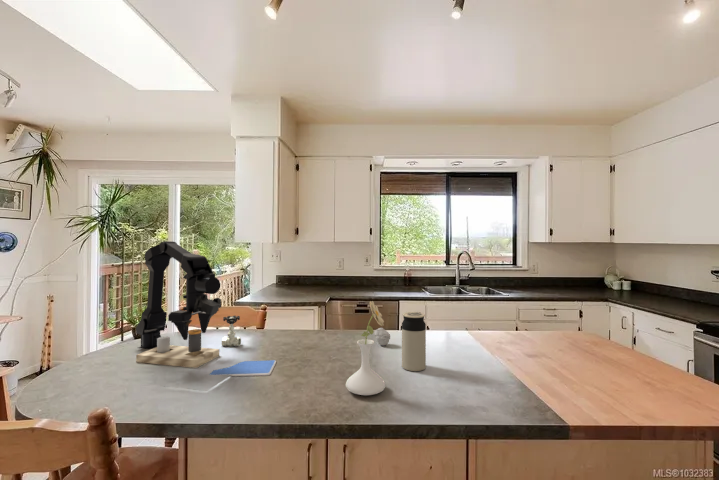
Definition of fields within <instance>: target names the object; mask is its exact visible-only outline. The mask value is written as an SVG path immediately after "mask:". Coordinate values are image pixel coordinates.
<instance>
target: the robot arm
mask: <svg viewBox="0 0 719 480" xmlns="http://www.w3.org/2000/svg"><path fill="white" fill-rule="evenodd" d="M171 259H174V260H175V261H177V262H179V264H180V269H182V270H183V271H184V272H185V275H183V279H185V281H186V283H185V285H186V286H185V289H186V290H185V294H184V295H183V294H182V295H183V299H185V306H183V307H182V308H183V310H182V309H181V310H180V309H179V310H178V309H177V310H174V311H170V312H169V314H168V317H167V311H165V310H164V308H163V307H162V304H163V303H162V302H163V291H164V290H163V289H164V277H165V271H166V270H167V268H168V267H169V266H170V262H171ZM144 261H145V263H144V264H145V266H146V267H147V269H148V271H149V275H148V276H149V277H148V290H147V304H146V308H145V309H144V310H143V311H142V312H141V318H140V320H139V322H138V324H137V325H136V327H135V332H136V334H137V335H140V346H139V347H137V349H144V350H145V349H146V350H151V349H154V348H156V347H157V338H160V337H162V335H161V332H163V331H165V329H166V324H167V321H169V322H171V323H172V324H173V325H175V327H176V329H177V331H178V332H179V334H180V336H181V338H182V339H183V340H184V341H187V340H188V339H189V334H188V331H189V326H190V324H191V323H192V321H193V320H192V317H193V316H194V315H198V321H199V325H200V329H201V334H205V333H206V332H207V329H208V327H209V326H208V325H209V323H210V321H211V318H212V317H214V316H215V315H216V314H217V313H218V312H219V311H220V309H221V308H222V299H221V298H219V297H215V298H213V299H209V296H208V295H215V294H217V293H218V292H219V291H220V289H221V286H222V285H221V281H220V280H219V279H218V278H217V277H216V274H215V273H213V269H212V267H211V265H210V264H209V261H208V259H207V257H206V256H204V255H201V254H196V253H192V252H190V251H188V250H187V249H185V248H184V247H182V246H181V245H179V244H178V243H177V242H176V241H173V240H172V241H170V240H169V241H168V240H167V241H166V240H165V241H161V242H160V243H159V244H156V245H154V246H151V247H149V248H148V250H146V251H145V253H144ZM167 319H168V320H167Z"/></svg>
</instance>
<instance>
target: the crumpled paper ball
mask: <svg viewBox="0 0 719 480" xmlns="http://www.w3.org/2000/svg"><path fill="white" fill-rule="evenodd" d="M373 334H374V337H375V338H376V342H377V344H378V345H380V346H387V345H388V344H389V343H390V340H391V334H390V333H389V331H387V330H386V329H385V328H383V327H379V328H377V329H375V330H374V332H373Z"/></svg>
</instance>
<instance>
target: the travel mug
mask: <svg viewBox="0 0 719 480" xmlns="http://www.w3.org/2000/svg"><path fill="white" fill-rule="evenodd" d="M402 316H403V320H402V322H401V367H402V369H404V370H406V371H408V372H421V371H424V370H425V369H426V368H427V367H426V364H427V363H426V362H427V360H426V359H427V357H426V356H427V353H426V352H427V351H426V350H427V348H426V346H427V344H426V341H427V340H426V339H427V336H426V335H427V333H426V332H427V329H426V326H427V325H426V322H425V316H426V314H424V313H423V312H418V311H406V312H404V313H402Z"/></svg>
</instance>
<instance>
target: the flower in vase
mask: <svg viewBox="0 0 719 480" xmlns="http://www.w3.org/2000/svg"><path fill="white" fill-rule="evenodd" d="M369 307H370V310H371V313H372V315H371V316H370V319H369V320H368V324H367V326H366V331H363V333H362V334H361V335H360V336H361V337H365V338H364V339H358V340H357V341H356V343H357V345H358V346H359V348H360V352H361V355H360V356H361V365H360V368H359V369H358V370H357V371H355V372H354V373H353V374H352V375H350V376H349V378H347V380H346V382H345V388H346V389H347V390H348V391H349V392H350V393H352V394H355V395H359V396H360V395H361V396H372V395H377V394H380V393H381V392H383V391H384V390H385V388H386V385H387V384H386V382H385V379H384V378H383V377H381V376H380V374H379V373H377V372H375V370H373V369H372V367H371V365H370V363H371V362H370V361H371V360H370V356H371V350H372V348H373V345H374V344H375V340H372V339H368V336H369V335H373V334H374V332H375V330H374V329H373V327H372V326H371V325H370V323H371V322H372V320H373V318H374V319H375V321H376V322H377V325H379V326H381V327H383V326H385V324H384V323H385V320H384V318H382V317H383V315H382V313H381V312H380V310H379V307H378V306H377V305H375V302H374V301H373V300H372V301H371V300H370V301H369Z"/></svg>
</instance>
